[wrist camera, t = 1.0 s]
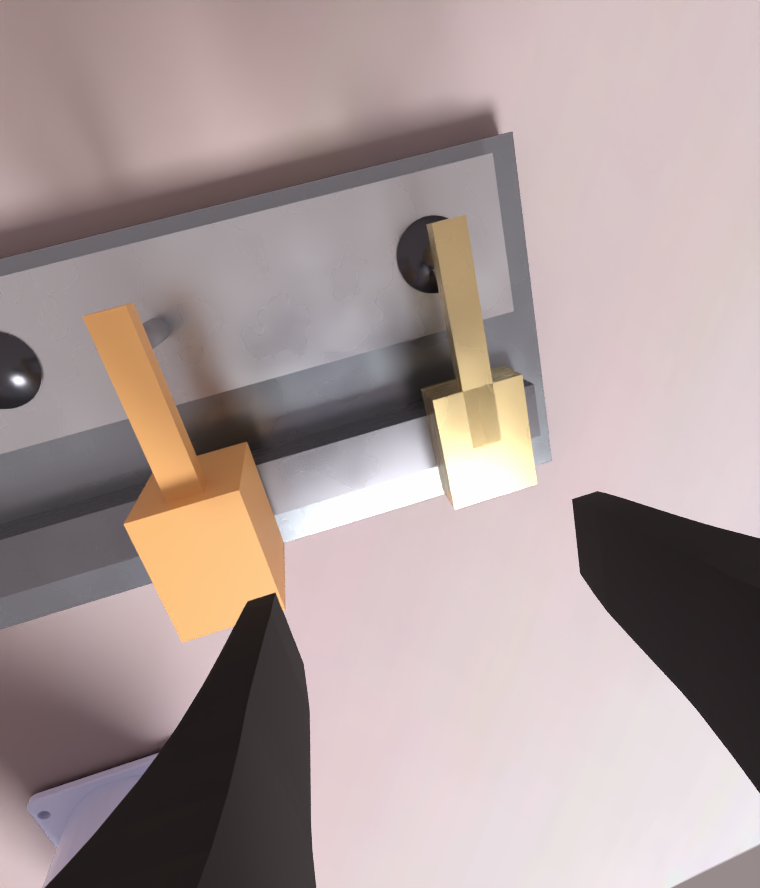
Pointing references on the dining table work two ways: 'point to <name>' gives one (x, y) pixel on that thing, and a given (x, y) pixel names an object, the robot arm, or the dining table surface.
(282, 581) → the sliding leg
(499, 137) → the board
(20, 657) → the dining table surface
